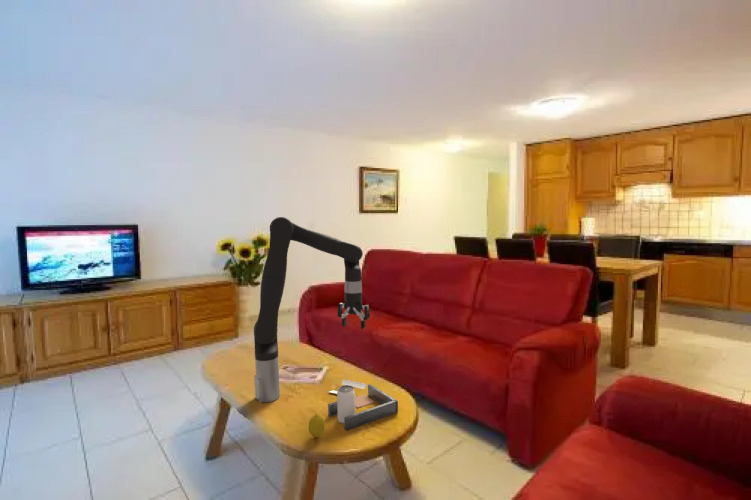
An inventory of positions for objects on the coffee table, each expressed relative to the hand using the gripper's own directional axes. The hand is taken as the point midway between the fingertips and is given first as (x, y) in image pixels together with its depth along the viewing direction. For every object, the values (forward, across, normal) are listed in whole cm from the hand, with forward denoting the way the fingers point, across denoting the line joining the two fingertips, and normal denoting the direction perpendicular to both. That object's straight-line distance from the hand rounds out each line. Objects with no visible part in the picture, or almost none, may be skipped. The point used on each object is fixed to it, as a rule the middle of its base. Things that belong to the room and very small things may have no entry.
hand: (353, 327), depth 175 cm
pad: (+26, +9, -12) cm, 30 cm away
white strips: (+27, -1, -5) cm, 27 cm away
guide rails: (+26, +12, -20) cm, 35 cm away
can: (+26, +10, -27) cm, 39 cm away
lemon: (+27, +5, -41) cm, 49 cm away
